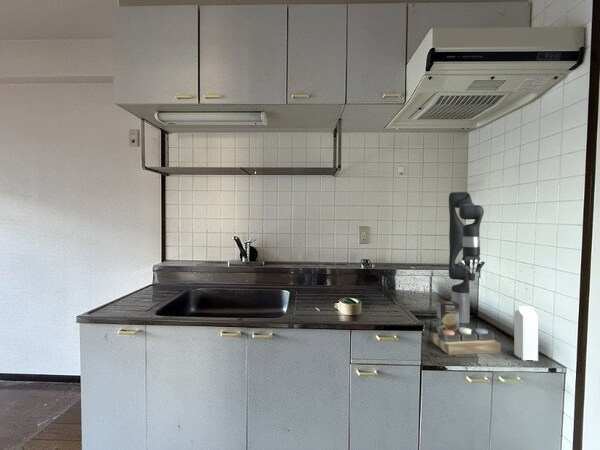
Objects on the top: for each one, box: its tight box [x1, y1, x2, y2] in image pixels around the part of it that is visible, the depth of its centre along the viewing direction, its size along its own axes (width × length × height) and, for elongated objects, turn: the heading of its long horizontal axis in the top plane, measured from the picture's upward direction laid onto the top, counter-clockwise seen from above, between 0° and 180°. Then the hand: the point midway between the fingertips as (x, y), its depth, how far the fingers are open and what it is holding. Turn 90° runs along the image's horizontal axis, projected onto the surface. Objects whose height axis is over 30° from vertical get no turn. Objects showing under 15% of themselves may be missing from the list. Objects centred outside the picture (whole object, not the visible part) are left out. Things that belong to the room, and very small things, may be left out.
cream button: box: [459, 326, 472, 335], centre depth 139 cm, size 5×5×2 cm
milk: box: [513, 305, 539, 362], centre depth 128 cm, size 6×6×22 cm
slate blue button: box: [474, 328, 489, 334], centre depth 140 cm, size 5×5×2 cm
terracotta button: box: [443, 330, 455, 335], centre depth 139 cm, size 5×5×2 cm
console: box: [432, 328, 502, 356], centre depth 140 cm, size 14×24×7 cm, turn 94°
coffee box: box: [436, 299, 460, 332], centre depth 158 cm, size 9×6×16 cm
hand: (471, 280), depth 149 cm, fingers closed
